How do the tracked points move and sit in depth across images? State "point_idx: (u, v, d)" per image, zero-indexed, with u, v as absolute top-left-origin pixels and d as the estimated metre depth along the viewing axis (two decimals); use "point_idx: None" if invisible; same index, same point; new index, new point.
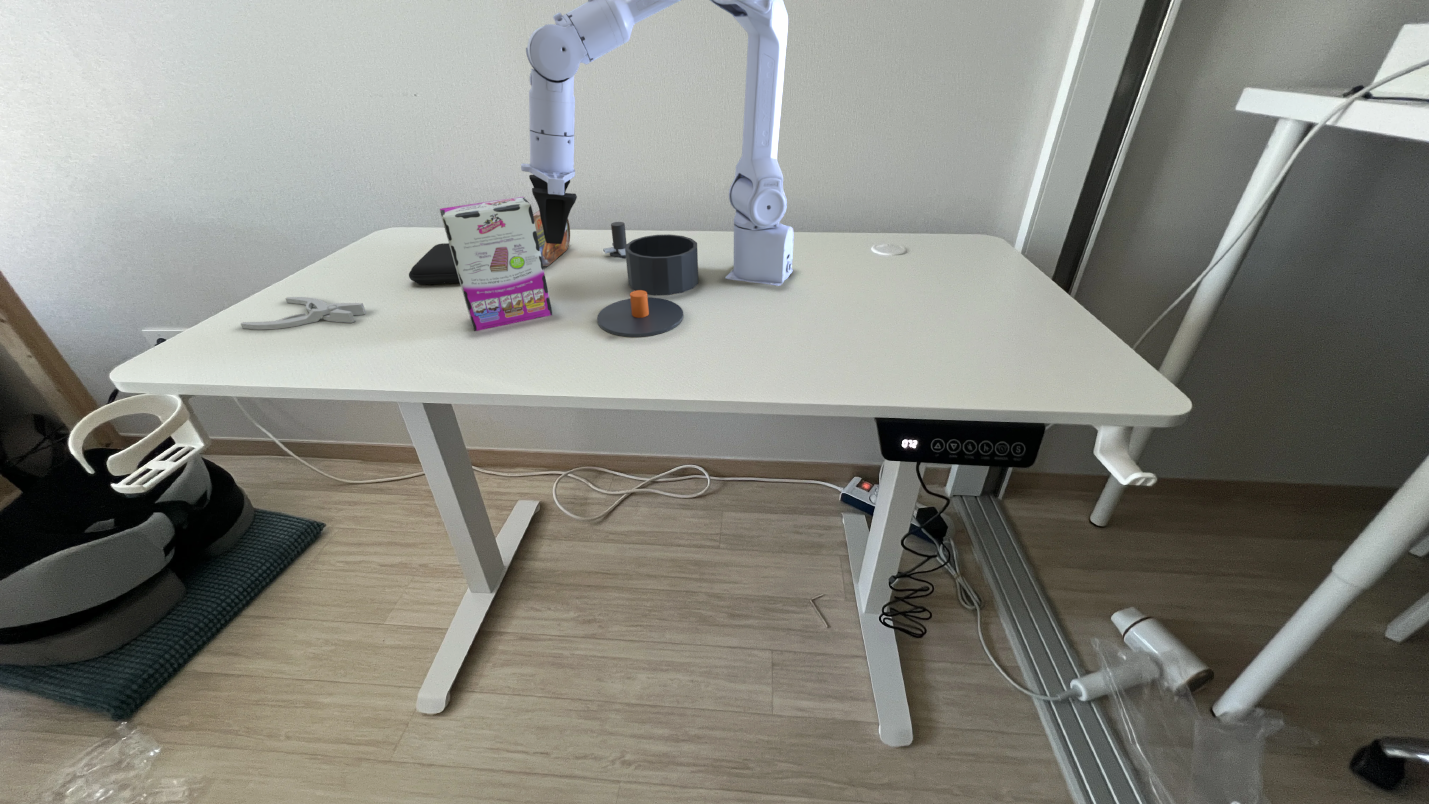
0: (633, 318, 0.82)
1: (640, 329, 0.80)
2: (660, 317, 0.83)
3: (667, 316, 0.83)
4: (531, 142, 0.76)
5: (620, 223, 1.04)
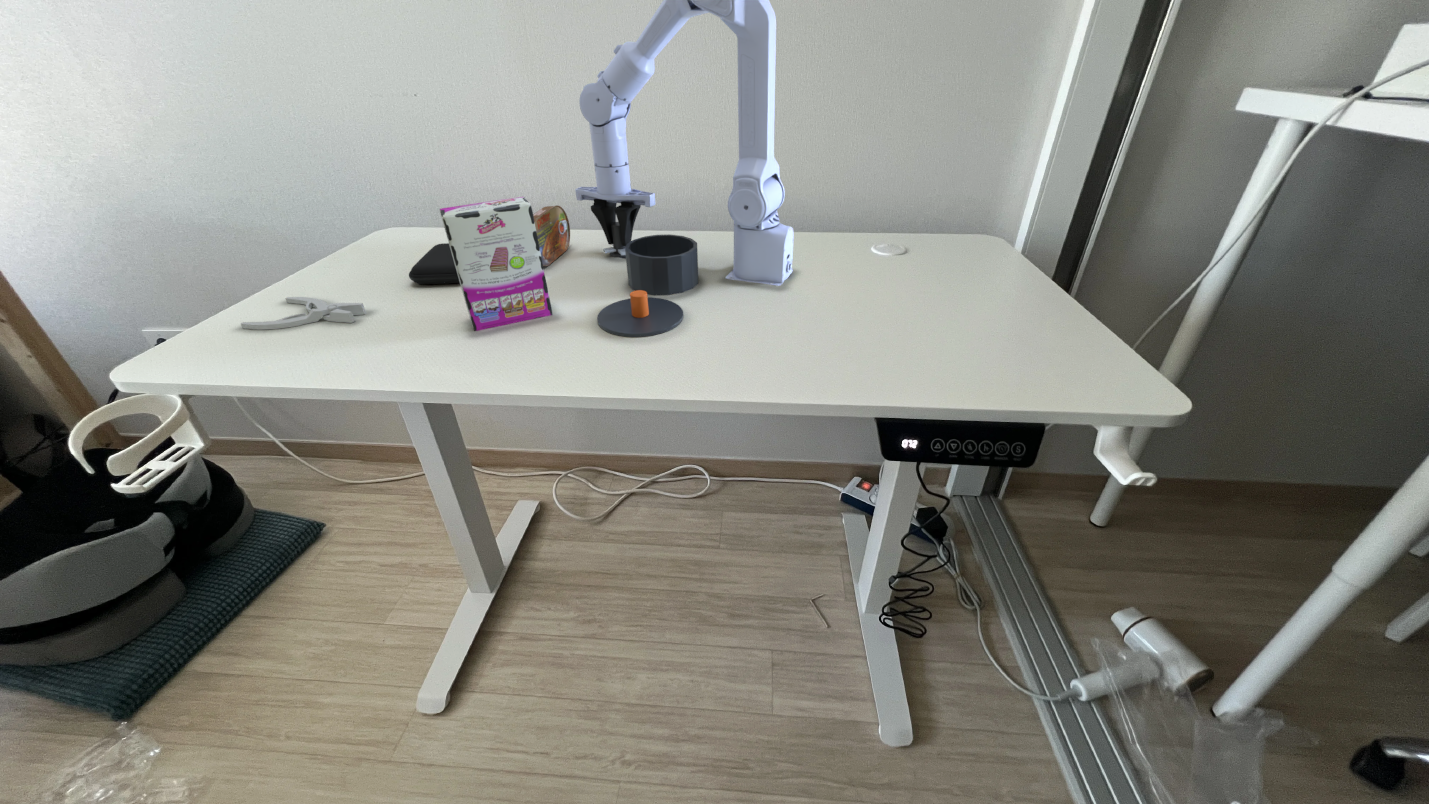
0: (633, 318, 0.82)
1: (640, 329, 0.80)
2: (660, 317, 0.83)
3: (667, 316, 0.83)
4: None
5: None
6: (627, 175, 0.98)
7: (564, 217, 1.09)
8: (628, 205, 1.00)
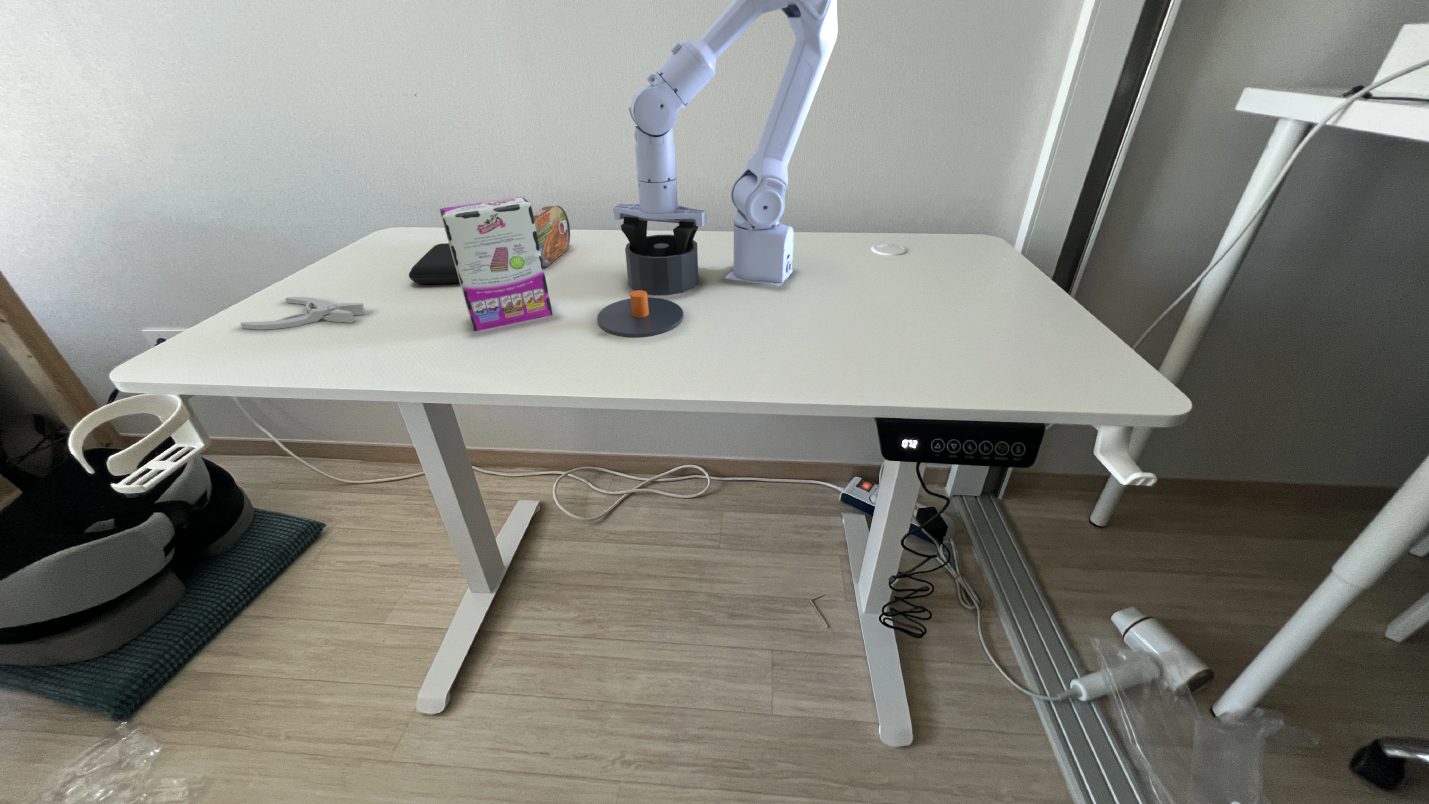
0: (633, 318, 0.82)
1: (640, 329, 0.80)
2: (660, 317, 0.83)
3: (667, 316, 0.83)
4: None
5: (664, 245, 0.92)
6: (675, 191, 0.86)
7: (564, 217, 1.09)
8: (688, 225, 0.88)
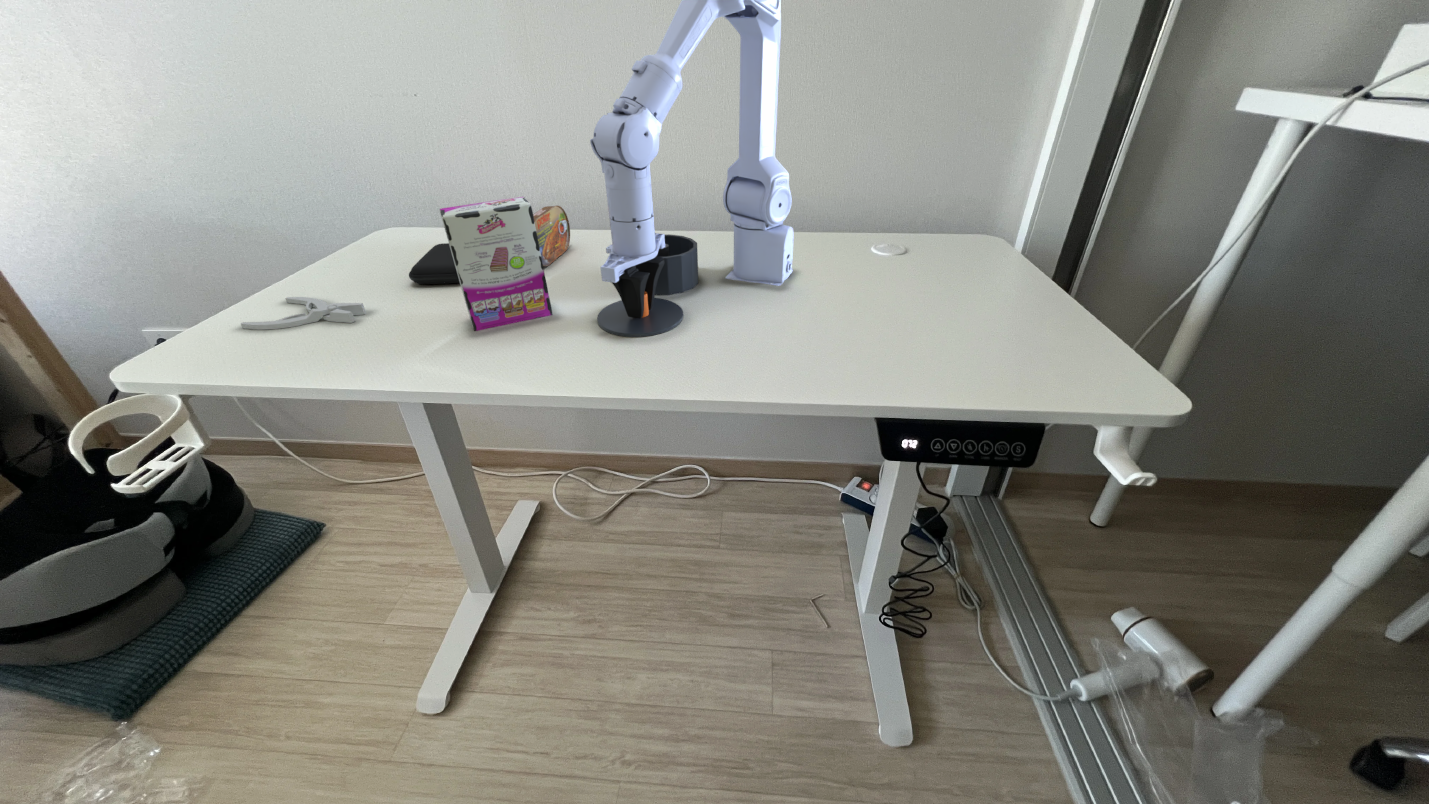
0: (633, 318, 0.82)
1: (640, 329, 0.80)
2: (660, 317, 0.83)
3: (667, 316, 0.83)
4: None
5: None
6: None
7: (564, 217, 1.09)
8: None
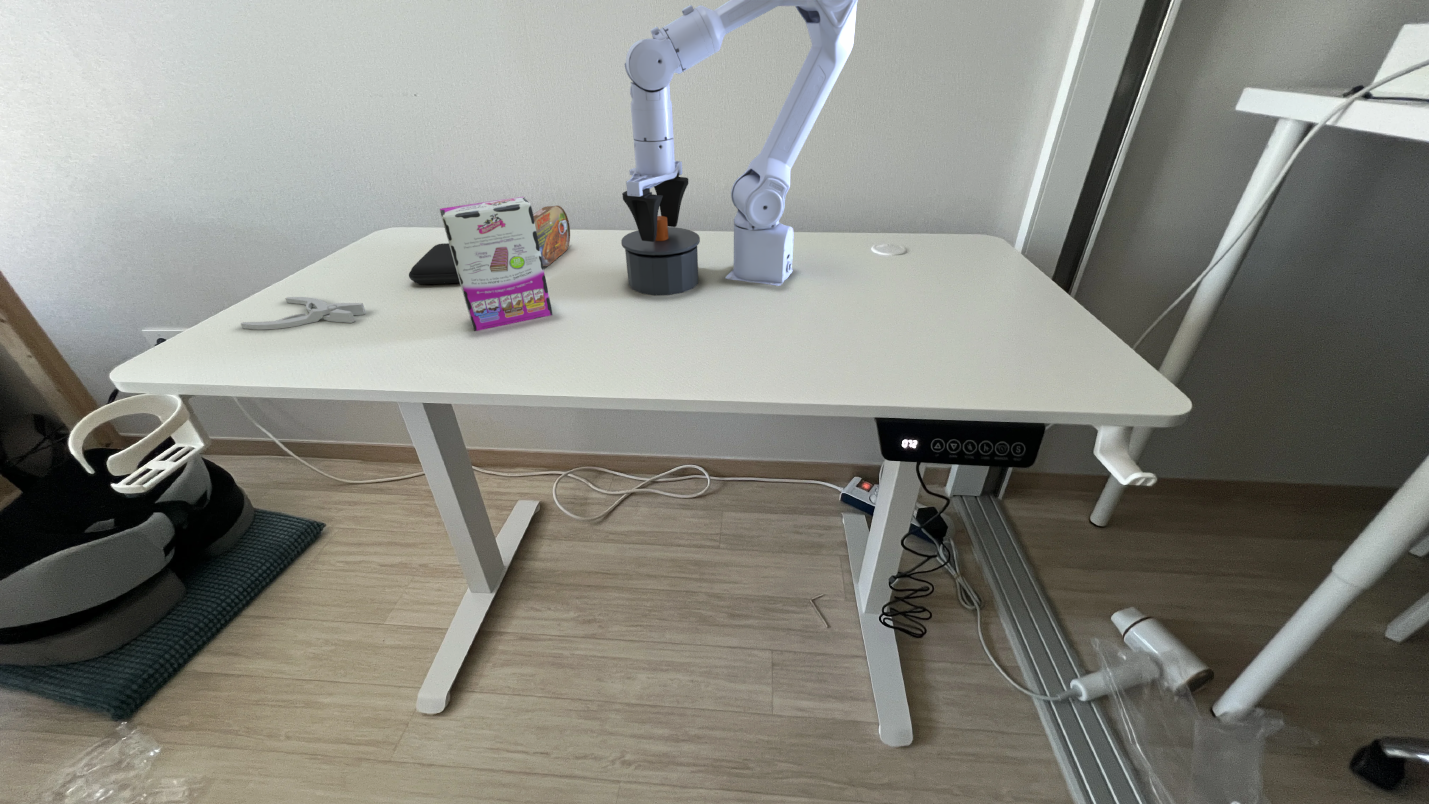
0: (654, 241, 0.90)
1: (661, 248, 0.87)
2: (679, 240, 0.90)
3: (685, 240, 0.91)
4: None
5: None
6: None
7: (564, 217, 1.09)
8: (677, 177, 0.91)
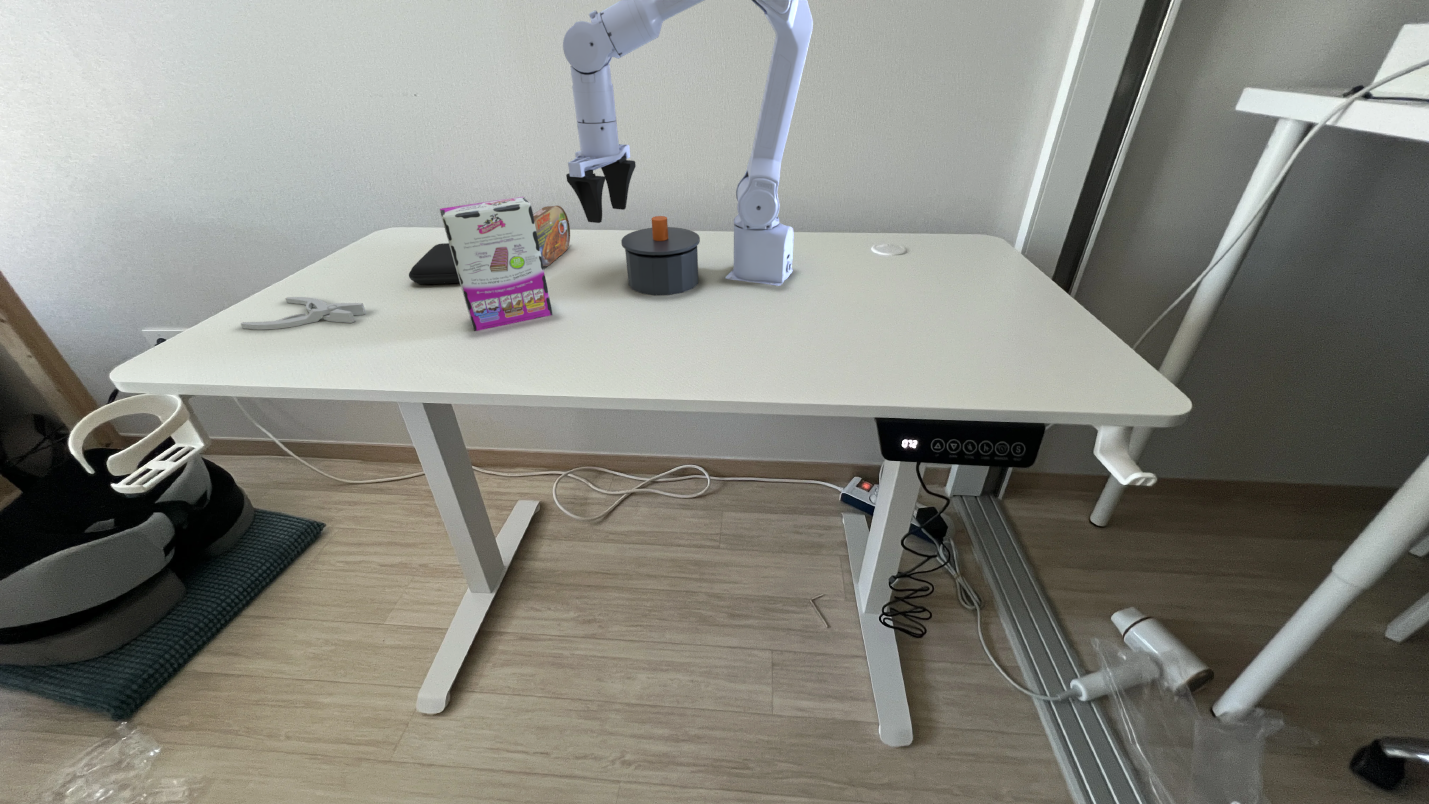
0: (654, 241, 0.90)
1: (661, 248, 0.87)
2: (679, 240, 0.90)
3: (685, 240, 0.91)
4: None
5: None
6: None
7: (564, 217, 1.09)
8: (624, 160, 0.93)
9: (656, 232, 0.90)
